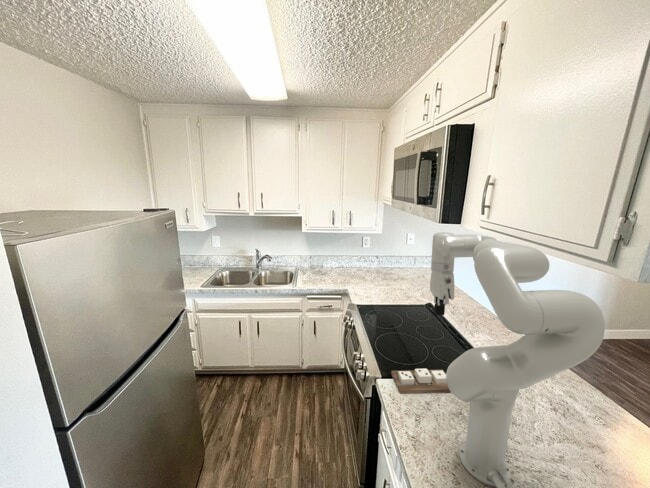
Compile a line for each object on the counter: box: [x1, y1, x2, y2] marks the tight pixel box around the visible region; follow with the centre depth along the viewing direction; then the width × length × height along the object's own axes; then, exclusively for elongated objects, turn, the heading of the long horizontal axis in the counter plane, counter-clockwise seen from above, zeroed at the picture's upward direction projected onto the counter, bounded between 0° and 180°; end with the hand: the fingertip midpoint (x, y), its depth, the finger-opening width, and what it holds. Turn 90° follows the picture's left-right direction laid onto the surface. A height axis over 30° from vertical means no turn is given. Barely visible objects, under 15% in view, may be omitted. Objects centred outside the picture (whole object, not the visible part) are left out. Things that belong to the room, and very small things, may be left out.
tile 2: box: [414, 368, 432, 384], centre depth 107 cm, size 5×5×3 cm
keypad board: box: [390, 369, 452, 395], centre depth 107 cm, size 12×23×2 cm, turn 91°
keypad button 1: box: [431, 371, 447, 384], centre depth 107 cm, size 5×5×3 cm
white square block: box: [397, 370, 414, 385], centre depth 107 cm, size 5×5×3 cm
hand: (439, 314), depth 96 cm, fingers closed
